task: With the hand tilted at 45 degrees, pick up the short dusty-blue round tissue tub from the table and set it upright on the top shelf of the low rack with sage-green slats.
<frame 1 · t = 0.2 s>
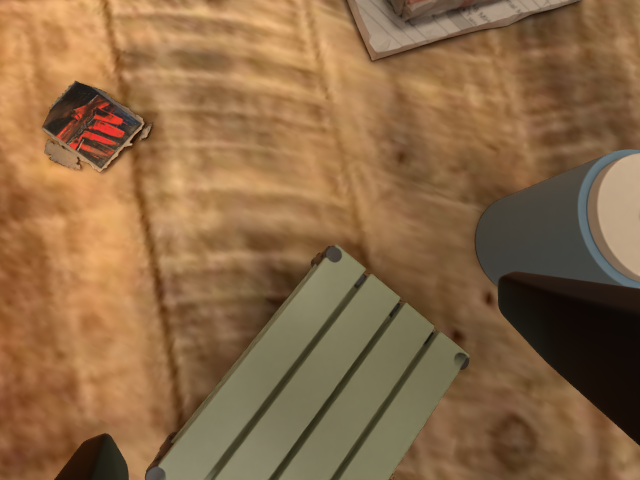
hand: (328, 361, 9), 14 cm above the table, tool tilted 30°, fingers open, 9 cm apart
rack: (306, 392, 23), on the table
tissue tub: (521, 245, 26), on the table
matchbox: (92, 133, 23), on the table
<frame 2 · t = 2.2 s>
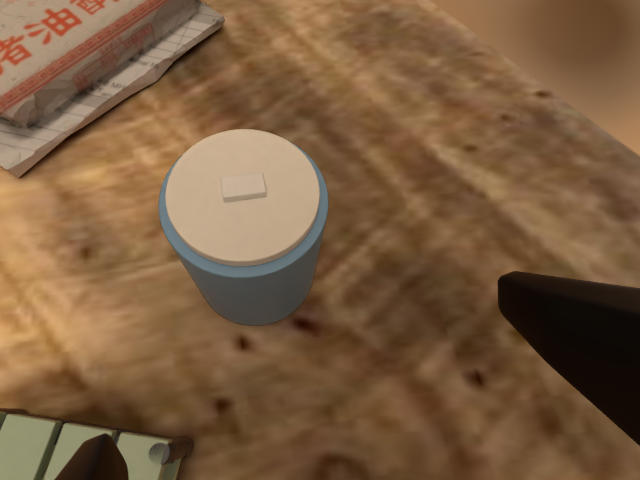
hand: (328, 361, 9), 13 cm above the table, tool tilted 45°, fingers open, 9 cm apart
packaged product: (86, 63, 29), on the table
tissue tub: (256, 268, 24), on the table
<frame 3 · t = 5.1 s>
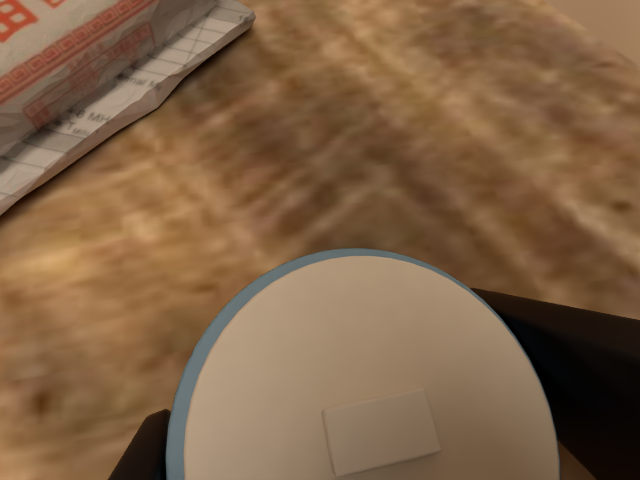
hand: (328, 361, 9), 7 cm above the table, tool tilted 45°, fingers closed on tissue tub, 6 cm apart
packaged product: (55, 80, 20), on the table
tissue tub: (323, 424, 14), on the table, touching gripper
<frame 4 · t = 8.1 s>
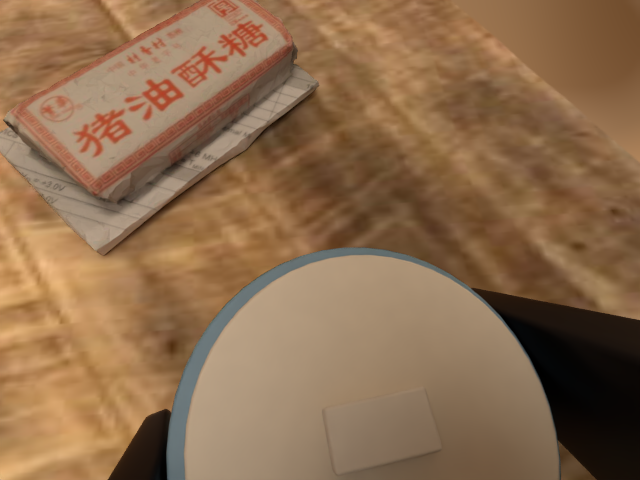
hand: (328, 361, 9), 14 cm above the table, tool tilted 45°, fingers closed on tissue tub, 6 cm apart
packaged product: (173, 124, 27), on the table
tissue tub: (323, 423, 14), point 7 cm above the table, touching gripper
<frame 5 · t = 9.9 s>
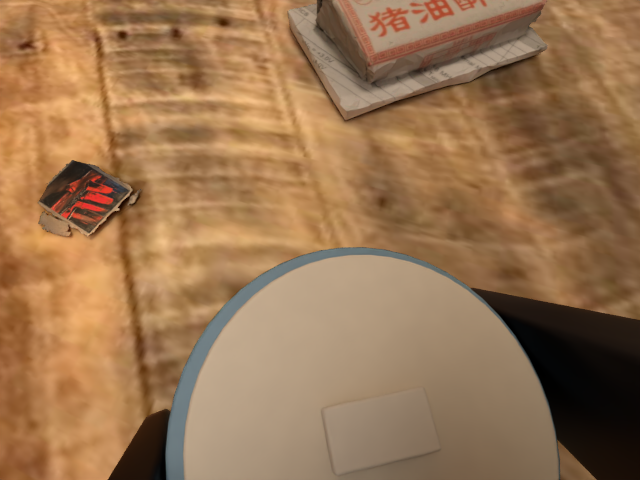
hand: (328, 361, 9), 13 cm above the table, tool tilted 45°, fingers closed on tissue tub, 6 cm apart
packaged product: (414, 46, 32), on the table
tissue tub: (323, 423, 14), point 7 cm above the table, touching gripper
matchbox: (84, 203, 24), on the table
when the fingers open (11 cm above the table, at t = 11.4 s): tissue tub stays where it is, resting on rack.
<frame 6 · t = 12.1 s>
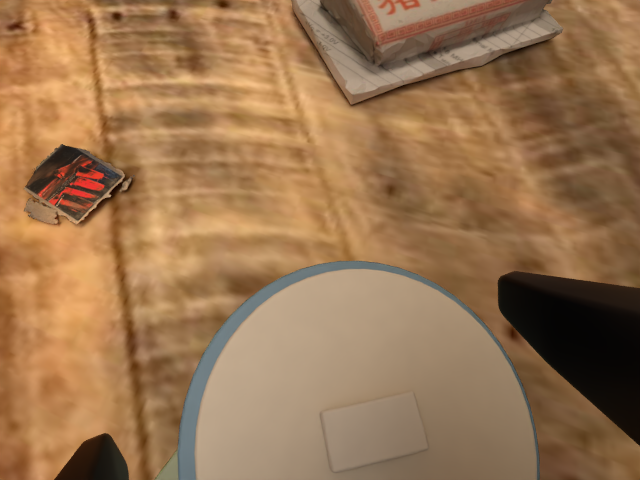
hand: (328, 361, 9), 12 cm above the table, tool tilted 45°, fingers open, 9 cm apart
packaged product: (423, 29, 31), on the table
rack: (303, 460, 18), on the table
tissue tub: (322, 424, 15), point 4 cm above the table, touching rack
matchbox: (74, 190, 23), on the table
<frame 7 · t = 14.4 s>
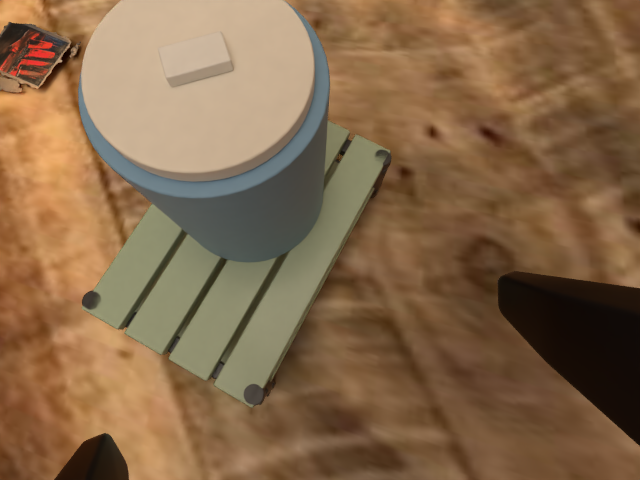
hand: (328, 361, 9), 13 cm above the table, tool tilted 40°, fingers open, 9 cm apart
rack: (257, 247, 23), on the table
tissue tub: (251, 192, 19), point 4 cm above the table, touching rack
matchbox: (30, 62, 25), on the table
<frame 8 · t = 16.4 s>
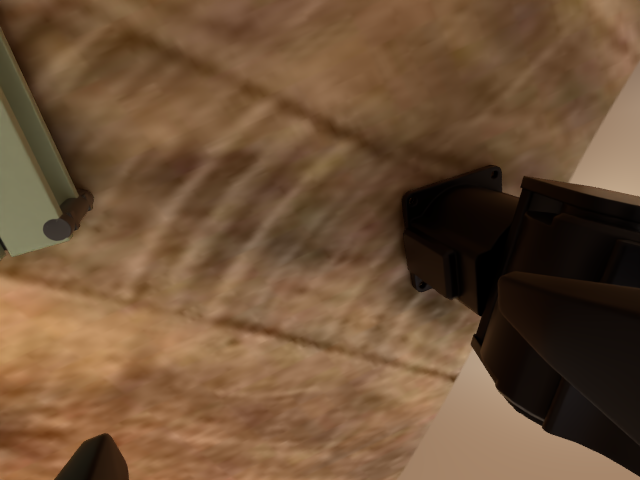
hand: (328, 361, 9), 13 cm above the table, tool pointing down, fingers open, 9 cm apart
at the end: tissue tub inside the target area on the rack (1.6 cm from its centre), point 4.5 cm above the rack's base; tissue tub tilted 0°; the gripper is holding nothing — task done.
